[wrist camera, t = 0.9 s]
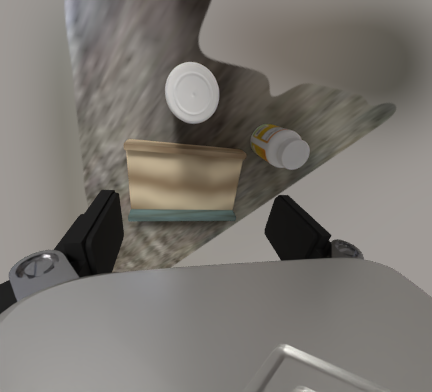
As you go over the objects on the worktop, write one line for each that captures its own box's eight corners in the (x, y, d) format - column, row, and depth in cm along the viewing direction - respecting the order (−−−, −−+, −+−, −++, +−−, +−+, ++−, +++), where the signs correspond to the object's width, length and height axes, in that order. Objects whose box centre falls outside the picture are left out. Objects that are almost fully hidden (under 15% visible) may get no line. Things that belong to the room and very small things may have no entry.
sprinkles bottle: (205, 103, 28) (228, 109, 16) (178, 117, 28) (182, 134, 16) (191, 69, 26) (205, 49, 14) (162, 85, 26) (152, 78, 14)
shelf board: (128, 138, 28) (121, 145, 24) (240, 149, 32) (249, 156, 28) (133, 206, 33) (128, 221, 30) (229, 208, 38) (235, 220, 34)
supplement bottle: (273, 156, 34) (305, 176, 26) (246, 153, 33) (271, 173, 25) (282, 125, 32) (321, 136, 23) (254, 121, 30) (284, 130, 22)
